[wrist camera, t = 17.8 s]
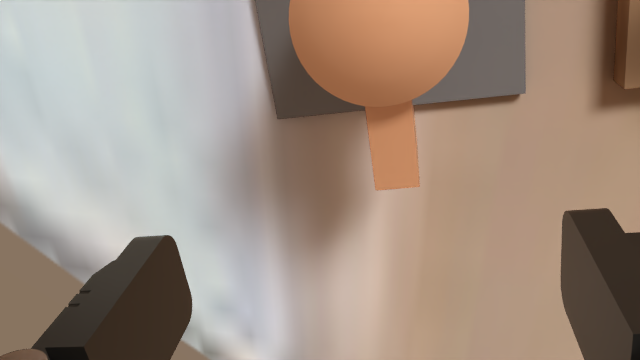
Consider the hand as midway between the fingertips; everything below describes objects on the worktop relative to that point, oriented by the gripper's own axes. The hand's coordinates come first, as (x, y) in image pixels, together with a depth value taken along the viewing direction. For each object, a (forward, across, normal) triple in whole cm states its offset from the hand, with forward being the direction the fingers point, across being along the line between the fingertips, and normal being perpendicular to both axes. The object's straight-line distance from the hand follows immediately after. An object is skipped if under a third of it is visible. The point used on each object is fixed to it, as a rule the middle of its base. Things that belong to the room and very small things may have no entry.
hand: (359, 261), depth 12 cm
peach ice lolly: (+17, 0, -2) cm, 17 cm away
